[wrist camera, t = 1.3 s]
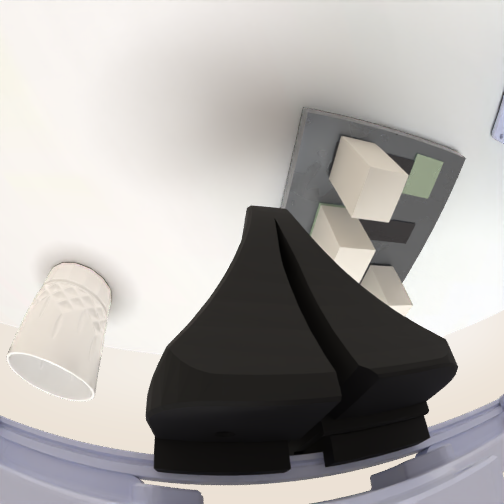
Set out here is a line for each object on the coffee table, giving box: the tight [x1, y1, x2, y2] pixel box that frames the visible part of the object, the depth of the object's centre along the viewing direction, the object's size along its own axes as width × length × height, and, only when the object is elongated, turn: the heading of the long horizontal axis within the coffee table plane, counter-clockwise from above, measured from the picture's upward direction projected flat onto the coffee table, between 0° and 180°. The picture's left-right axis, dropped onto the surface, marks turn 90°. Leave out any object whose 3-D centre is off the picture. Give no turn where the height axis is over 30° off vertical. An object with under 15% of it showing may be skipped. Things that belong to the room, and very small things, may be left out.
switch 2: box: [311, 205, 376, 283], centre depth 19 cm, size 2×3×4 cm
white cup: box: [6, 263, 112, 401], centre depth 22 cm, size 8×8×10 cm
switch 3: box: [360, 265, 413, 316], centre depth 23 cm, size 2×3×4 cm
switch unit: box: [281, 107, 465, 284], centre depth 22 cm, size 13×15×1 cm
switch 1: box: [329, 136, 409, 223], centre depth 16 cm, size 2×3×4 cm
